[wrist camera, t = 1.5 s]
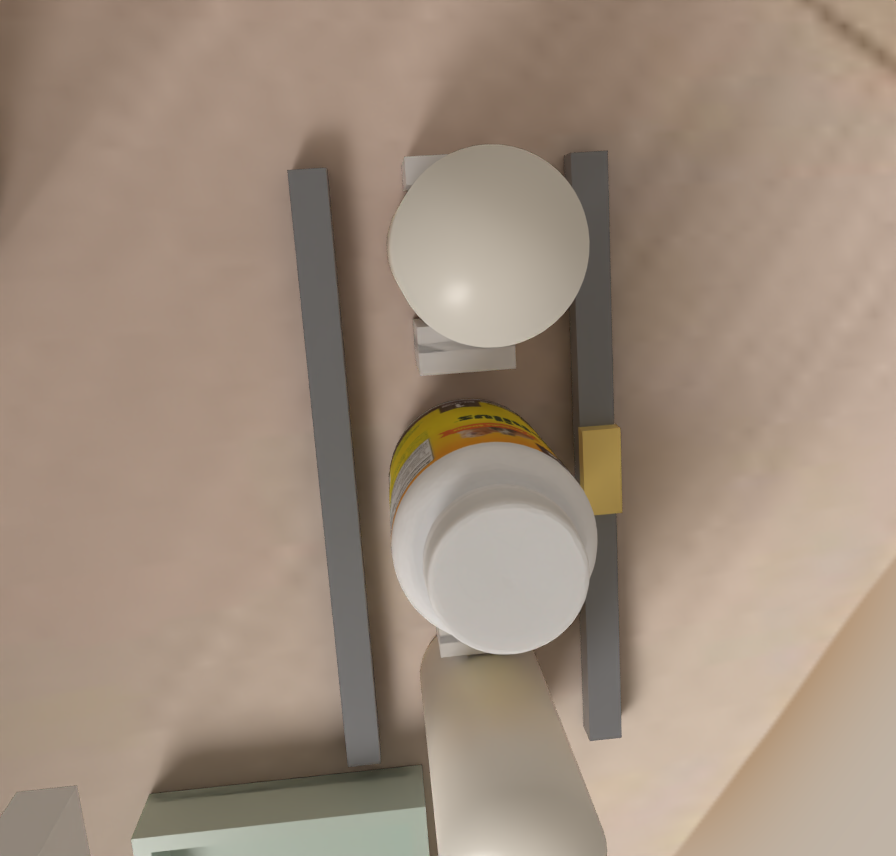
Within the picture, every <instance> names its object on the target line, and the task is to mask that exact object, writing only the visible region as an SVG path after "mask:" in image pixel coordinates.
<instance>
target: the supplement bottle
mask: <svg viewBox="0 0 896 856" xmlns="http://www.w3.org/2000/svg"><path fill="white" fill-rule="evenodd" d="M389 496H390V523H391V550H392V559H393V563H394V568H395V572H396V575H397V578H398V581H399V583H400V585H401V588H402V590H403V592H404V593H405V595H406V597H407V598H408V600H409V601H410V603H411V604H412V605H413V606H414V608H415V609H416V610H417V611H418V612H419V613H420V614H421V615H422V616H423V617H424V618H425V619H427V620H428V621H429V622H430V623H432V624H433V625H435V626H436V627H438V628H439V629H441V630H443V631H445V632H447V633H449V634H451V635H453V636H454V637H455V638H457V639H458V640H459V641H461V642H462V643H464V644H466V645H468V646H469V647H472V648H474V649H477V650H480V651H484V652H487V653H491V654H518V653H523V652H527V651H531V650H534V649H536V648H539V647H541V646H543V645H546V644H548V643H549V642H551V641H552V640H554V639H555V638H557V637H558V636H559V635H560V634H562V633H563V632H564V631H565V630H566V629H567V628H568V627H569V626H570V625H571V624H572V622H573V621H574V620H575V618H576V617H577V615H578V613H579V612H580V610H581V608H582V606H583V603H584V601H585V599H586V596H587V592H588V587H589V579H590V577H591V574H592V571H593V568H594V565H595V561H596V554H597V527H596V521H595V517H594V513H593V510H592V507H591V505H590V502H589V500H588V498H587V496H586V494H585V492H584V491H583V489H582V488H581V486H580V485H579V483H578V482H577V480H576V479H575V478H574V476H573V475H572V474H571V473H570V472H569V470H568V469H567V468H566V467H565V466H564V465H563V464H562V463H561V461H560V460H559V459H558V458H557V457H556V456H555V454H554V453H553V452H552V451H551V449H550V448H549V447H548V446H547V445H546V444H545V443H544V441H543V440H542V439H541V438H540V437H539V436H538V434H537V433H536V432H535V431H534V430H533V429H532V428H531V426H530V425H529V424H528V423H527V422H526V421H525V420H523V419H522V418H521V417H520V416H519V415H517V414H516V413H514V412H513V411H511V410H510V409H508V408H506V407H504V406H501V405H499V404H496V403H493V402H490V401H485V400H479V399H462V400H455V401H450V402H446V403H443V404H440V405H438V406H436V407H433V408H432V409H430V410H428V411H426V412H425V413H423V414H422V415H421V416H419V417H418V418H417V419H416V420H415V421H414V422H413V423H412V424H411V425H410V426H409V427H408V428H407V429H406V431H405V432H404V433H403V435H402V436H401V438H400V440H399V442H398V443H397V446H396V448H395V450H394V453H393V456H392V460H391V465H390V472H389Z"/></svg>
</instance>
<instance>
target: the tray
mask: <svg viewBox="0 0 896 856" xmlns="http://www.w3.org/2000/svg"><path fill="white" fill-rule="evenodd" d="M131 843H132V849H133V855H134V856H429V843H428V831H427V819H426V806H425V795H424V784H423V772H422V765H415V766H405V767H396V768H387V769H377V770H368V771H359V772H350V773H340V774H331V775H322V776H312V777H303V778H294V779H285V780H275V781H266V782H257V783H247V784H238V785H229V786H220V787H210V788H201V789H192V790H182V791H173V792H164V793H154V794H149V797H148V799H147V802H146V804H145V807H144V809H143V811H142V814H141V816H140V819H139V821H138V824H137V826H136V828H135V831H134V833H133V836H132V838H131Z"/></svg>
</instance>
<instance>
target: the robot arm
mask: <svg viewBox="0 0 896 856" xmlns="http://www.w3.org/2000/svg"><path fill="white" fill-rule="evenodd" d="M0 856H90V851H89V846H88V840H87V835H86V830H85V825H84V819H83V814H82V809H81V804H80V798H79V793H78V788H77V786H67V787H58V788H49V789H40V790H31V791H22V792H16V794H15V795H14V797H13V798H12V800H11V801H10V803H9V805H8V806H7V808H6V809H5V811H4V812H3V814H2V815H1V817H0Z"/></svg>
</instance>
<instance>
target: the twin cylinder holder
mask: <svg viewBox="0 0 896 856" xmlns="http://www.w3.org/2000/svg"><path fill="white" fill-rule="evenodd" d="M401 168H402V182H403V191H408V192H407V194H406V195H405V197H404V199H403V200H402V202H401V204H400V205H399V207H398V209H397V210H396V212H395V214H394V216H393V218H392V220H391V223H390V226H389V230H388V234H387V242H386V246H387V258H388V263H389V266H390V269H391V272H392V274H393V277H394V278H395V280H396V282H397V284H398V286H399V287H400V289H401V291H402V293H403V295H404V296H405V298H406V300H407V302H408V303H409V305H410V306H411V307H412V309H413V310H414V311H415V313H416V314H417V315H418V316H419V317H420V318H421V319H413V331H414V345H415V358H416V365H417V368H418V371H419V374H420V376H427V375H440V374H452V373H465V372H478V371H491V370H504V369H516V353H515V344H517V343H521V342H523V341H526V340H528V339H530V338H533V337H535V336H536V335H538V334H540V333H542V332H543V331H545V330H546V329H547V328H549V327H550V326H551V325H553V324H554V323H555V322H556V321H557V320H558V319H559V318H560V317H561V316H562V315H563V314H564V313H565V311H566V310H567V309H568V308H569V315H570V344H571V373H572V403H573V432H574V461H575V479H576V480H577V482H578V483H579V485H580V486H581V488H582V489H583V491H584V492H585V494H586V496H587V498H588V500H589V502H590V505H591V507H592V510H593V513H594V517H595V521H596V527H597V554H596V561H595V565H594V568H593V571H592V574H591V577H590V579H589V587H588V592H587V596H586V599H585V601H584V603H583V606H582V608H581V610H580V635H581V665H582V694H583V723H584V728H585V731H586V733H587V735H588V738H589V740H590V741H595V740H604V739H614V738H622V735H621V693H620V651H619V609H618V567H617V525H616V513H622V477H621V432H620V427H619V426H617V425H616V424H614V399H613V357H612V315H611V273H610V231H609V189H608V151H594V152H578V153H570V154H567V155H565V156H564V170H565V178H564V176H563V175H562V174H561V173H560V172H559V171H558V170H557V169H556V168H554V167H553V166H552V165H551V164H550V163H548V162H547V161H545V160H544V159H542V158H540V157H539V156H537V155H535V154H533V153H531V152H528V151H526V150H523V149H520V148H517V147H513V146H507V145H500V144H484V145H476V146H471V147H467V148H463V149H460V150H458V151H455V152H453V153H450V154H442V155H425V156H409V157H404V159H403V162H402V165H401ZM287 171H288V181H289V191H290V201H291V211H292V220H293V230H294V240H295V250H296V260H297V270H298V280H299V289H300V299H301V309H302V319H303V329H304V339H305V349H306V358H307V368H308V378H309V388H310V398H311V408H312V418H313V427H314V437H315V447H316V457H317V467H318V477H319V487H320V496H321V506H322V516H323V526H324V536H325V546H326V556H327V566H328V575H329V585H330V595H331V605H332V615H333V625H334V635H335V644H336V654H337V664H338V674H339V684H340V694H341V704H342V713H343V723H344V733H345V743H346V753H347V763H348V767H352V766H362V765H371V764H380V763H381V747H380V736H379V725H378V714H377V703H376V692H375V681H374V670H373V660H372V649H371V638H370V627H369V616H368V605H367V594H366V583H365V572H364V561H363V550H362V540H361V529H360V518H359V507H358V496H357V485H356V474H355V463H354V452H353V441H352V430H351V420H350V409H349V398H348V387H347V376H346V365H345V354H344V343H343V332H342V321H341V310H340V300H339V289H338V278H337V267H336V256H335V245H334V234H333V223H332V212H331V201H330V190H329V180H328V170H327V169H326V168H313V169H297V170H287ZM436 630H437V636H436V637H435V638H434V639H433V641H432V642H431V643H430V645H429V646H428V648H427V650H426V652H425V654H424V656H423V659H422V663H421V669H420V680H421V690H422V700H423V710H424V719H425V729H426V739H427V749H428V759H429V768H430V778H431V788H432V798H433V807H434V817H435V827H436V837H437V847H438V856H607V845H606V839H605V835H604V831H603V828H602V826H601V823H600V821H599V818H598V816H597V813H596V810H595V808H594V805H593V803H592V800H591V798H590V795H589V792H588V790H587V787H586V785H585V782H584V780H583V777H582V774H581V772H580V769H579V767H578V764H577V761H576V759H575V756H574V754H573V751H572V749H571V746H570V743H569V741H568V738H567V736H566V733H565V731H564V728H563V725H562V723H561V720H560V718H559V715H558V713H557V710H556V707H555V705H554V702H553V700H552V697H551V694H550V692H549V689H548V687H547V684H546V682H545V679H544V676H543V674H542V671H541V669H540V666H539V664H538V661H537V658H536V656H535V653H534V651H533V650H531V651H527V652H523V653H518V654H491V653H487V652H484V651H480V650H477V649H474V648H472V647H469V646H468V645H466V644H464V643H462V642H461V641H459V640H458V639H457V638H455V637H454V636H453V635H451V634H449V633H447V632H445V631H443V630H441V629H439V628H438V627H436Z"/></svg>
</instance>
